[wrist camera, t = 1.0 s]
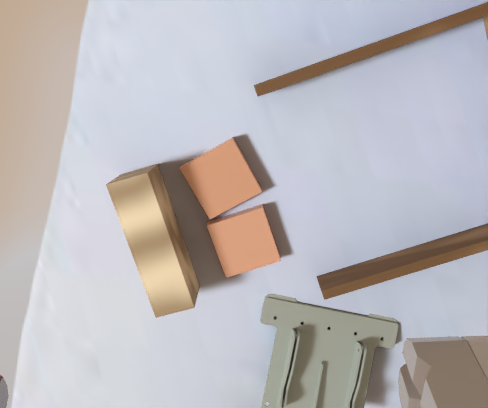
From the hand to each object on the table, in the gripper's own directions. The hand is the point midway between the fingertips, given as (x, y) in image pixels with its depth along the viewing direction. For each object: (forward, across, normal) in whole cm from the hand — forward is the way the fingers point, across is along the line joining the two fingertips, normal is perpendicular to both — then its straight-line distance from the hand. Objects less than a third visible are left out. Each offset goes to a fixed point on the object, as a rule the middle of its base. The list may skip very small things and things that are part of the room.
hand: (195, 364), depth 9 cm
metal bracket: (+30, +6, -34) cm, 46 cm away
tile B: (+35, -3, -14) cm, 38 cm away
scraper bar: (+33, -10, -19) cm, 40 cm away
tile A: (+34, -1, -20) cm, 39 cm away
